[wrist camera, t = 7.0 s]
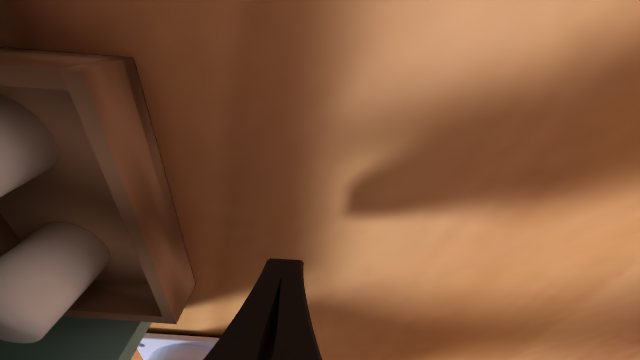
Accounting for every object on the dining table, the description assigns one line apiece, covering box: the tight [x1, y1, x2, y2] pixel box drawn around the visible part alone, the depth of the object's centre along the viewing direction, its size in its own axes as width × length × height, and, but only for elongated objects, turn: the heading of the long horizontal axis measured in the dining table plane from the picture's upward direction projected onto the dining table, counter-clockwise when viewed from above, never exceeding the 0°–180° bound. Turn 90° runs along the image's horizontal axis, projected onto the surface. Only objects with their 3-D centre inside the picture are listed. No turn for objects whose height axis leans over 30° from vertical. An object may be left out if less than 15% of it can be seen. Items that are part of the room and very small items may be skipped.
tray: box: [0, 47, 195, 324], centre depth 12 cm, size 13×9×2 cm
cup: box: [0, 222, 110, 343], centre depth 13 cm, size 4×4×4 cm
